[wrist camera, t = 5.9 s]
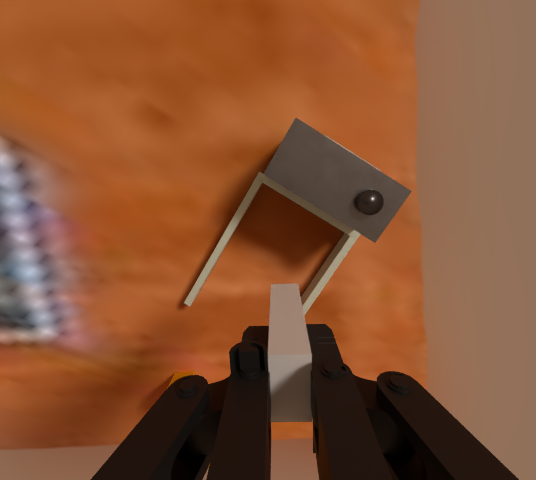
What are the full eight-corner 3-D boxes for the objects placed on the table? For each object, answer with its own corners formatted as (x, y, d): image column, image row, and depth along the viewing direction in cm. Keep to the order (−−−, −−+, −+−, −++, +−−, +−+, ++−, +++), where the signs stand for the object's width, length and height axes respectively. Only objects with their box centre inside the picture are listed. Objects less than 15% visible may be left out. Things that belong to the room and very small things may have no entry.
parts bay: (190, 294, 36) (183, 302, 33) (260, 171, 32) (259, 171, 30) (277, 342, 37) (277, 354, 34) (354, 229, 33) (360, 233, 31)
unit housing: (267, 174, 32) (262, 174, 23) (292, 131, 31) (298, 111, 21) (349, 225, 33) (378, 245, 23) (376, 184, 32) (418, 188, 22)
